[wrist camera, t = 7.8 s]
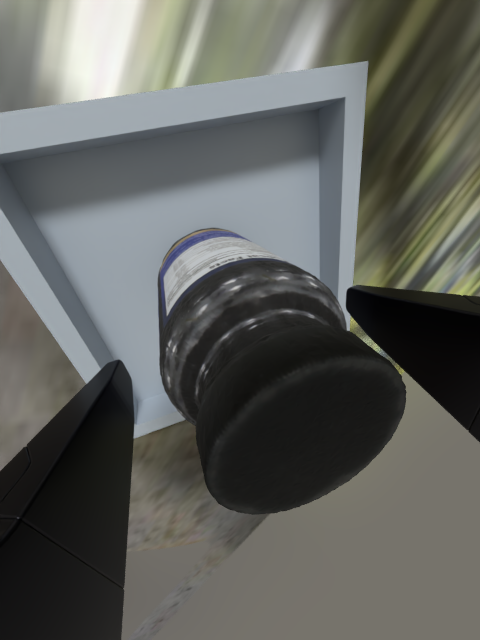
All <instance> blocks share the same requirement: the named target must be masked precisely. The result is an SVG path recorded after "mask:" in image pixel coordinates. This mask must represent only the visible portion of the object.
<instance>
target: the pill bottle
mask: <svg viewBox="0 0 480 640" xmlns="http://www.w3.org/2000/svg"><path fill="white" fill-rule="evenodd" d="M157 285H158V317H159V352H160V356H159V362H160V363H159V366H160V375H161V377H162V378H161V379H162V384H163V386H164V390H165V392H166V394H167V395H168V398H169V400H170V401H171V403H172V404H173V405H174V407H175V408H176V409H177V411H178V412H179V413H180V414H181V415H182V416H183V417H184V418H185V419H186V420H187V421H189V422H190V423H192V424H193V425H195V426H196V441H197V446H198V450H199V454H200V459H201V465H202V468H203V473H204V479H205V483H206V486H207V488H208V490H209V492H210V493H211V495H212V497H214V498H215V499H216V501H217V502H218V503H219V504H220V505H222V506H224V507H225V508H227V509H230V510H234V511H236V512H240V513H245V514H246V513H248V514H252V515H254V514H266V513H277V512H280V511H287V510H290V509H293V508H296V507H300V506H301V505H304V504H307V503H309V502H312V501H314V500H316V499H319V498H320V497H322V496H324V495H326V494H328V493H329V492H331V491H332V490H335V489H336V488H338V487H339V486H341V485H343V484H344V483H346V482H348V481H349V480H350V479H352V477H354V476H355V475H357V474H358V473H359V472H360V471H361V470H363V469H364V468H365V467H366V466H367V465H368V464H369V463H370V462H371V461H372V460H373V459H374V458H375V457H376V456H377V455H378V454H379V453H380V452H381V450H382V449H383V448H384V446H385V445H386V444H387V443H388V442H389V441H390V439H391V438H392V436H393V434H394V432H395V431H396V429H397V427H398V424H399V422H400V420H401V418H402V416H403V413H404V409H405V403H406V390H405V388H406V386H405V384H404V383H403V381H402V376H401V375H400V374H399V372H398V371H397V369H396V368H395V367H394V366H393V364H392V363H391V362H390V361H389V360H387V359H386V358H385V357H383V356H382V355H380V354H379V353H377V352H376V351H375V350H373V349H372V348H371V347H370V346H368V345H367V344H366V343H365V342H363V341H362V340H361V339H360V338H359V337H357V336H356V335H355V334H353V333H352V332H350V331H347V323H346V320H345V315H344V313H343V311H342V308H341V306H340V304H339V301H338V300H337V299H336V296H334V294H333V293H332V291H331V290H330V289H329V288H328V287H327V286H326V285H325V284H324V283H322V282H321V281H320V280H319V279H318V278H317V277H316V276H313V275H312V274H310V273H309V272H306V271H304V270H303V269H301V268H299V267H297V266H295V265H293V264H291V263H290V262H288V261H286V260H284V259H282V258H280V257H279V256H277V255H275V254H273V253H271V252H270V251H268V250H266V249H264V248H262V247H261V246H259V245H257V244H255V243H253V242H252V241H250V240H248V239H246V238H244V237H242V236H240V235H239V234H237V233H235V232H232V231H229V230H225V229H220V228H206V229H200V230H196V231H194V232H192V233H190V234H188V235H186V236H184V237H183V238H181V239H179V240H178V241H176V242H175V243H174V244H173V245H172V247H171V248H170V249H169V251H168V252H167V254H166V255H165V257H164V259H163V262H162V265H161V267H160V269H159V274H158V283H157Z"/></svg>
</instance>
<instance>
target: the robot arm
mask: <svg viewBox="0 0 480 640" xmlns="http://www.w3.org/2000/svg"><path fill="white" fill-rule="evenodd" d="M346 310H347V312H348V313H349V314H350V315H351V316H352V318H353V319H354V320H355V321H356V322H357V323H358V325H359V326H360V327H361V328H362V329H363V330H364V332H365V333H366V334H367V335H368V336H369V337H370V338H371V339H372V340H373V341H374V342H375V343H376V344H377V345H378V346H379V347H380V348H381V349H382V350H383V351H384V352H385V353H386V354H388V355H389V356H390V357H391V358H392V359H393V360H394V361H395V362H396V363H397V364H398V365H399V366H400V367H401V368H402V369H403V370H404V371H405V372H406V373H408V374H409V375H410V376H411V377H412V378H413V379H414V380H415V381H416V382H417V383H418V384H419V385H420V386H421V387H422V388H423V389H424V390H425V391H427V392H428V393H429V394H430V395H431V396H432V397H433V398H434V399H435V400H436V401H437V402H438V403H439V404H440V405H441V406H442V407H443V408H444V409H445V410H446V411H448V412H449V413H450V414H451V415H452V416H453V417H454V418H455V419H456V420H457V421H458V422H459V423H460V424H461V425H462V426H463V427H464V428H465V429H466V430H469V433H471V435H473V436H474V437H475V438H476V439H477V440H478V441H479V442H480V297H478V296H467V295H463V296H461V295H456V294H446V293H435V292H425V291H414V290H404V289H393V288H383V287H372V286H362V285H356V286H353V287H349V288H348V289H347V291H346ZM134 423H135V418H134V401H133V386H132V379H131V376H130V374H129V372H128V371H127V369H126V367H125V365H124V363H123V362H122V361H121V360H120V359H118V360H114V361H111V362H108V363H107V364H106V365H105V366H104V367H103V368H102V369H101V370H100V371H99V372H98V373H97V374H96V375H95V376H94V377H93V378H92V379H91V380H90V381H89V382H88V383H87V384H86V385H85V386H84V387H83V388H82V389H81V390H80V391H79V392H78V393H77V394H76V395H75V396H74V397H73V398H72V399H71V400H70V401H69V402H68V403H67V404H66V405H65V406H64V407H63V408H62V409H61V410H60V411H59V412H58V413H57V414H56V415H55V417H54V418H53V419H52V420H51V421H50V422H49V423H48V424H47V425H46V426H45V427H44V428H43V429H42V430H41V431H40V432H39V433H38V434H37V435H36V436H35V437H34V438H33V439H32V440H31V441H30V442H29V443H28V444H27V447H24V448H23V449H22V450H21V451H20V452H19V453H18V454H17V455H16V456H15V457H14V458H13V459H12V460H11V461H10V462H9V463H8V464H7V465H6V466H5V467H4V468H3V469H2V470H1V471H0V640H121V632H122V617H123V601H124V589H123V588H124V583H125V567H126V551H127V535H128V520H129V504H130V488H131V472H132V456H133V440H134Z"/></svg>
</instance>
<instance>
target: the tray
mask: <svg viewBox="0 0 480 640" xmlns="http://www.w3.org/2000/svg"><path fill="white" fill-rule="evenodd" d="M367 74H368V61H364V62H357V63H350V64H343V65H336V66H329V67H322V68H315V69H308V70H301V71H293V72H286V73H279V74H272V75H265V76H258V77H251V78H244V79H237V80H230V81H222V82H215V83H208V84H201V85H194V86H187V87H180V88H173V89H166V90H159V91H151V92H144V93H137V94H130V95H123V96H116V97H109V98H102V99H95V100H88V101H80V102H73V103H66V104H59V105H52V106H45V107H38V108H31V109H24V110H17V111H9V112H2V113H0V260H1V261H2V263H3V264H4V266H5V267H6V269H7V270H8V271H9V273H10V274H11V276H12V277H13V279H14V280H15V281H16V283H17V284H18V286H19V287H20V289H21V290H22V292H23V293H24V294H25V296H26V297H27V299H28V300H29V302H30V303H31V305H32V306H33V307H34V309H35V310H36V312H37V313H38V315H39V316H40V318H41V319H42V320H43V322H44V323H45V325H46V326H47V328H48V329H49V330H50V332H51V333H52V335H53V336H54V338H55V339H56V341H57V342H58V343H59V345H60V346H61V348H62V349H63V351H64V352H65V354H66V355H67V356H68V358H69V359H70V361H71V362H72V364H73V365H74V367H75V368H76V369H77V371H78V372H79V374H80V375H81V377H82V378H83V379H84V381H85V382H86V384H87V383H88V382H89V381H90V380H91V379H92V378H93V377H94V376H95V375H96V374H97V373H98V372H99V371H100V370H101V369H102V368H103V367H104V366H105V365H106V364H107V363H108V362H111V361H114V360H118V359H120V360H121V361H122V362H123V363H124V365H125V367H126V369H127V371H128V372H129V374H130V376H131V379H132V386H133V401H134V418H135V423H134V438H137V437H140V436H142V435H145V434H148V433H151V432H153V431H156V430H159V429H162V428H164V427H167V426H170V425H172V424H175V423H178V422H181V421H183V420H186V419H185V418H184V417H183V416H182V415H181V414H180V413H179V412H178V411H177V409H176V408H175V407H174V405H173V404H172V403H171V401H170V400H169V398H168V395H167V394H166V392H165V390H164V386H163V384H162V379H161V378H162V377H161V375H160V366H159V363H160V362H159V356H160V352H159V317H158V285H157V283H158V274H159V269H160V267H161V265H162V262H163V259H164V257H165V255H166V254H167V252H168V251H169V249H170V248H171V247H172V245H173V244H174V243H175V242H176V241H178V240H179V239H181V238H183V237H184V236H186V235H188V234H190V233H192V232H194V231H196V230H200V229H206V228H220V229H225V230H229V231H232V232H235V233H237V234H239V235H240V236H242V237H244V238H246V239H248V240H250V241H252V242H253V243H255V244H257V245H259V246H261V247H262V248H264V249H266V250H268V251H270V252H271V253H273V254H275V255H277V256H279V257H280V258H282V259H284V260H286V261H288V262H290V263H291V264H293V265H295V266H297V267H299V268H301V269H303V270H304V271H306V272H309V273H310V274H312V275H313V276H316V277H317V278H318V279H319V280H320V281H321V282H322V283H324V284H325V285H326V286H327V287H328V288H329V289H330V290H331V291H332V293H333V294H334V296H336V299H337V300H338V301H339V304H340V306H341V308H342V311H343V313H344V315H345V320H346V323H347V331H350V316H351V315H350V314H349V313H348V312H347V310H346V291H347V289H348V288H349V287H353V274H354V259H355V245H356V231H357V217H358V202H359V188H360V174H361V159H362V145H363V131H364V117H365V102H366V88H367Z"/></svg>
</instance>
